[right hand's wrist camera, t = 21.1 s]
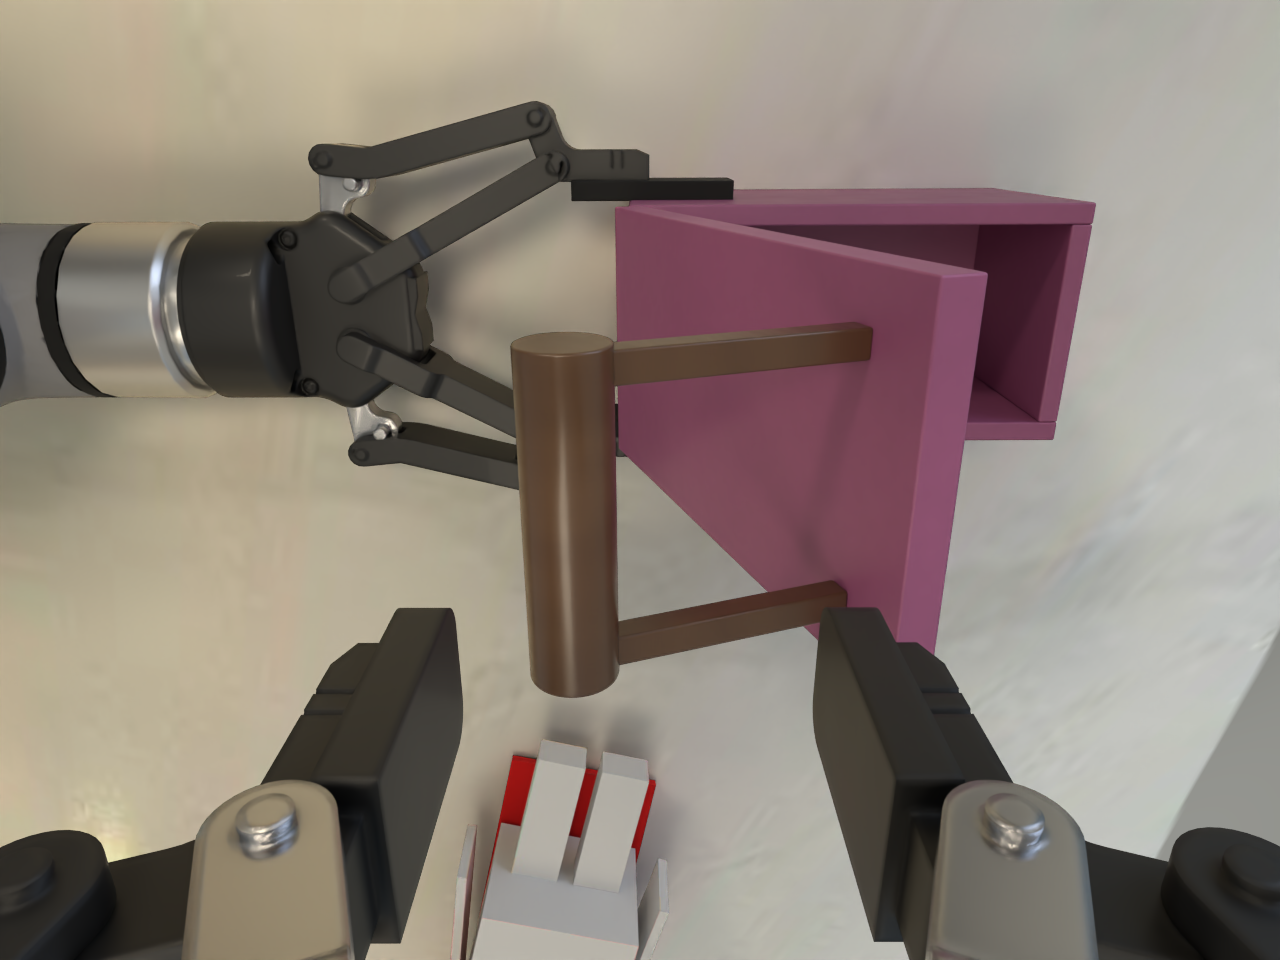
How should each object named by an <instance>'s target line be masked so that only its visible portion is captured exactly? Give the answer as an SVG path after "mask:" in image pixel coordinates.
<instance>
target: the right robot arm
mask: <svg viewBox="0 0 1280 960" xmlns="http://www.w3.org/2000/svg"><path fill="white" fill-rule="evenodd" d="M958 689H959V688H958V686H957V685H956V683H955V681H954V679H953V678H952V676H951V674H950V672H949V671H948V669H947V667H946V666H945V664H944V663H943V662H942V661H940V660H939V659H938V658H937V657H935V656H934V655H933V654H932V653H930V652H929V651H928V650H926V649H925V648H924V647H923V646H921V645H920V644H919V643H917V642H896V641H895V639H894V637H893V635H892V633H891V631H890V629H889V627H888V625H887V623H886V621H885V619H884V617H883V615H882V613H881V612H880V610H879V609H878V608H876V607H825V608H824V609H823V611H822V614H821V619H820V627H819V639H818V650H817V661H816V672H815V683H814V694H813V724H814V733H815V739H816V744H817V747H818V751H819V754H820V758H821V761H822V765H823V768H824V772H825V775H826V778H827V782H828V785H829V789H830V792H831V796H832V799H833V803H834V806H835V809H836V813H837V816H838V820H839V823H840V827H841V830H842V834H843V837H844V840H845V844H846V847H847V851H848V854H849V858H850V861H851V865H852V868H853V871H854V875H855V878H856V882H857V885H858V889H859V892H860V896H861V899H862V902H863V906H864V909H865V913H866V916H867V920H868V923H869V927H870V930H871V933H872V937H873V940H874V942H904V944H905V948H906V951H907V954H908V957H909V960H1280V846H1278V845H1276V844H1274V843H1271V842H1269V841H1267V840H1264V839H1262V838H1260V837H1257V836H1254V835H1251V834H1248V833H1244V832H1240V831H1236V830H1232V829H1225V828H1213V827H1207V828H1197V829H1194V830H1190V831H1188V832H1186V833H1184V834H1182V835H1181V836H1180V837H1179V838H1178V839H1177V840H1176V842H1175V844H1174V846H1173V849H1172V852H1171V855H1170V858H1169V862H1167V861H1162V860H1158V859H1154V858H1150V857H1145V856H1141V855H1137V854H1133V853H1129V852H1124V851H1120V850H1116V849H1112V848H1107V847H1104V846H1100V845H1096V844H1093V843H1090V842H1087V841H1085V840H1084V836H1083V834H1082V831H1081V829H1080V827H1079V826H1078V824H1077V823H1076V822H1075V820H1074V819H1073V818H1072V817H1071V816H1070V815H1069V814H1068V813H1067V812H1066V810H1064V809H1063V808H1062V807H1061V806H1059V805H1058V804H1057V803H1056V802H1054V801H1052V800H1051V799H1049V798H1048V797H1046V796H1044V795H1043V794H1041V793H1039V792H1037V791H1035V790H1032V789H1030V788H1027V787H1025V786H1022V785H1018V784H1015V783H1013V782H1012V780H1011V778H1010V776H1009V775H1008V773H1007V771H1006V769H1005V768H1004V766H1003V764H1002V763H1001V761H1000V759H999V757H998V756H997V754H996V752H995V750H994V749H993V747H992V745H991V743H990V742H989V740H988V738H987V737H986V735H985V733H984V731H983V730H982V728H981V726H980V724H979V723H978V721H977V719H976V717H975V716H974V714H971V712H970V707H969V705H968V704H967V702H966V700H965V698H964V697H963V695H962V693H959V690H958ZM462 723H463V696H462V686H461V675H460V664H459V653H458V642H457V631H456V622H455V616H454V613H453V610H452V609H451V608H398V609H397V610H396V612H395V613H394V615H393V617H392V619H391V621H390V623H389V625H388V627H387V629H386V631H385V632H384V634H383V636H382V638H381V640H380V642H379V643H358V644H356V645H355V646H354V647H353V648H351V649H350V650H349V651H347V652H346V653H345V654H344V655H342V656H341V657H340V658H338V659H337V660H336V661H335V662H333V663H332V664H331V665H330V667H329V668H328V670H327V672H326V673H325V675H324V677H323V679H322V680H321V682H320V684H319V685H318V687H317V689H316V694H313V696H312V697H311V699H310V701H309V702H308V704H307V706H306V708H305V709H304V715H301V716H300V718H299V720H298V721H297V723H296V725H295V726H294V728H293V730H292V732H291V733H290V735H289V737H288V738H287V740H286V742H285V743H284V745H283V747H282V749H281V750H280V752H279V754H278V755H277V757H276V759H275V761H274V762H273V764H272V766H271V767H270V769H269V771H268V772H267V774H266V776H265V778H264V779H263V781H262V783H261V784H260V785H258V786H255V787H253V788H250V789H248V790H245V791H243V792H241V793H239V794H237V795H236V796H234V797H232V798H231V799H229V800H228V801H226V802H224V803H223V804H222V805H221V806H219V807H218V808H217V809H216V810H214V812H213V813H212V814H211V815H210V816H209V817H208V818H207V819H206V820H205V822H204V823H203V824H202V826H201V827H200V829H199V831H198V834H197V836H196V840H193V841H190V842H188V843H185V844H182V845H179V846H176V847H172V848H169V849H165V850H160V851H156V852H152V853H148V854H143V855H139V856H135V857H131V858H126V859H122V860H118V861H114V862H110V863H108V861H107V858H106V854H105V851H104V849H103V846H102V844H101V843H100V842H99V841H98V839H97V838H95V837H94V836H92V835H90V834H88V833H84V832H81V831H73V830H57V831H50V832H44V833H39V834H35V835H31V836H28V837H25V838H22V839H19V840H16V841H14V842H12V843H9V844H7V845H5V846H3V847H1V848H0V960H365V958H366V955H367V952H368V949H369V946H370V943H401V940H402V936H403V933H404V930H405V926H406V923H407V920H408V916H409V913H410V909H411V906H412V903H413V899H414V896H415V893H416V889H417V886H418V882H419V879H420V876H421V872H422V869H423V866H424V862H425V859H426V856H427V852H428V849H429V845H430V842H431V839H432V835H433V832H434V829H435V825H436V822H437V818H438V815H439V812H440V808H441V805H442V802H443V798H444V795H445V792H446V788H447V785H448V781H449V778H450V775H451V771H452V768H453V765H454V761H455V758H456V754H457V751H458V748H459V744H460V739H461V733H462Z"/></svg>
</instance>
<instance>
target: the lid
mask: <svg viewBox="0 0 1280 960" xmlns="http://www.w3.org/2000/svg"><path fill="white" fill-rule="evenodd" d="M615 231H616V296H617V342H613V341H612V340H611V339H609V338H607V337H605V336H601V335H597V334H591V333H582V332H552V333H542V334H535V335H530V336H526V337H522V338H520V339H517V340H515V341H514V342H512V344H511V346H510V348H511V364H512V380H513V396H514V413H515V429H516V445H517V461H518V477H519V494H520V510H521V526H522V542H523V558H524V575H525V591H526V607H527V623H528V639H529V656H530V672H531V678H532V680H533V682H534V684H535V685H536V686H537V687H538V688H539V689H541V690H542V691H544V692H546V693H548V694H551V695H554V696H558V697H566V698H577V697H585V696H590V695H593V694H596V693H599V692H601V691H603V690H605V689H606V688H608V687H609V686H611V685H612V684H613V683H614V681H615V680H616V678H617V676H618V674H619V665H622V664H627V663H632V662H637V661H641V660H646V659H651V658H655V657H660V656H665V655H669V654H674V653H679V652H684V651H688V650H693V649H698V648H702V647H707V646H712V645H717V644H721V643H726V642H731V641H735V640H740V639H745V638H750V637H754V636H759V635H764V634H768V633H773V632H778V631H782V630H787V629H792V628H797V627H801V626H804V627H805V628H806V629H807V630H808V631H809V632H810V633H811V634H812V635H813V636H814V637H815V638H816V639H817V640H818V639H819V627H820V619H821V614H822V611H823V609H824V608H825V607H876V608H878V609H879V610H880V612H881V613H882V615H883V617H884V619H885V621H886V623H887V625H888V627H889V629H890V631H891V633H892V635H893V637H894V639H895V641H896V642H917V643H919V644H920V645H921V646H923V647H924V648H925V649H926V650H928V651H929V652H930V653H932V654H933V655H934V652H935V645H936V638H937V631H938V624H939V616H940V609H941V602H942V595H943V588H944V581H945V574H946V567H947V560H948V553H949V546H950V539H951V532H952V525H953V518H954V511H955V504H956V496H957V489H958V482H959V475H960V468H961V461H962V454H963V447H964V440H965V433H966V426H967V419H968V412H969V405H970V398H971V391H972V384H973V377H974V369H975V362H976V355H977V348H978V341H979V334H980V327H981V320H982V313H983V306H984V299H985V292H986V285H987V278H988V274H987V273H986V272H982V271H977V270H972V269H967V268H961V267H956V266H951V265H946V264H941V263H935V262H930V261H925V260H920V259H914V258H909V257H904V256H899V255H894V254H888V253H883V252H878V251H873V250H868V249H862V248H857V247H852V246H847V245H842V244H836V243H831V242H826V241H821V240H815V239H810V238H805V237H800V236H795V235H789V234H784V233H779V232H774V231H769V230H763V229H758V228H753V227H748V226H742V225H737V224H732V223H727V222H722V221H716V220H711V219H706V218H701V217H696V216H690V215H685V214H680V213H675V212H670V211H664V210H659V209H654V208H649V207H643V206H627V207H616V208H615ZM615 386H618V428H619V449H620V450H621V451H622V452H623V453H624V454H625V455H626V456H627V457H628V458H629V459H631V460H632V461H633V462H634V463H635V464H636V465H637V466H638V467H639V468H640V469H641V470H642V471H643V472H644V473H645V474H646V475H647V476H648V477H649V478H650V479H651V480H652V481H653V482H654V483H655V484H656V485H657V486H659V487H660V488H661V489H662V490H663V491H664V492H665V493H666V494H667V495H668V496H669V497H670V498H671V499H672V500H673V501H674V502H675V503H676V504H677V505H678V506H679V507H680V508H681V509H682V510H683V511H684V512H685V513H687V514H688V515H689V516H690V517H691V518H692V519H693V520H694V521H695V522H696V523H697V524H698V525H699V526H700V527H701V528H702V529H703V530H704V531H705V532H706V533H707V534H708V535H709V536H710V537H711V538H712V539H713V540H715V541H716V542H717V543H718V544H719V545H720V546H721V547H722V548H723V549H724V550H725V551H726V552H727V553H728V554H729V555H730V556H731V557H732V558H733V559H734V560H735V561H736V562H737V563H738V564H739V565H740V566H741V567H743V568H744V569H745V570H746V571H747V572H748V573H749V574H750V575H751V576H752V577H753V578H754V579H755V580H756V581H757V582H758V583H759V584H760V585H761V586H762V587H763V588H764V589H765V590H766V591H767V593H761V594H756V595H751V596H746V597H741V598H736V599H731V600H726V601H720V602H715V603H710V604H705V605H700V606H695V607H690V608H685V609H679V610H674V611H669V612H664V613H659V614H654V615H649V616H644V617H638V618H633V619H628V620H623V621H618V562H617V502H616V442H615Z"/></svg>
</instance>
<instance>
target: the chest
mask: <svg viewBox="0 0 1280 960" xmlns="http://www.w3.org/2000/svg"><path fill="white" fill-rule="evenodd" d="M629 206H643V207H649V208H654V209H659V210H664V211H670V212H675V213H680V214H685V215H690V216H696V217H701V218H706V219H711V220H716V221H722V222H727V223H732V224H737V225H742V226H748V227H753V228H758V229H763V230H769V231H774V232H779V233H784V234H789V235H795V236H800V237H805V238H810V239H815V240H821V241H826V242H831V243H836V244H842V245H847V246H852V247H857V248H862V249H868V250H873V251H878V252H883V253H888V254H894V255H899V256H904V257H909V258H914V259H920V260H925V261H930V262H935V263H941V264H946V265H951V266H956V267H961V268H967V269H972V270H977V271H982V272H986V273H987V274H988V278H987V285H986V292H985V299H984V306H983V313H982V320H981V327H980V334H979V341H978V348H977V355H976V362H975V369H974V377H973V384H972V391H971V398H970V405H969V412H968V419H967V426H966V433H965V440H1053V438H1054V433H1055V427H1056V422H1055V421H1056V420H1057V416H1058V410H1059V405H1060V399H1061V394H1062V388H1063V383H1064V377H1065V372H1066V366H1067V361H1068V355H1069V350H1070V344H1071V339H1072V333H1073V328H1074V322H1075V317H1076V311H1077V306H1078V300H1079V295H1080V289H1081V284H1082V278H1083V273H1084V267H1085V262H1086V256H1087V251H1088V245H1089V240H1090V234H1091V229H1092V225H1090V224H1092V223H1093V218H1094V213H1095V207H1096V203H1094V202H1087V201H1080V200H1073V199H1066V198H1059V197H1051V196H1044V195H1037V194H1030V193H1023V192H1016V191H1009V190H1002V189H995V188H940V189H756V190H733V200H631V201H630V203H629Z"/></svg>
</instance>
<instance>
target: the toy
mask: <svg viewBox="0 0 1280 960" xmlns="http://www.w3.org/2000/svg"><path fill="white" fill-rule="evenodd" d="M586 754H587V748H584V747H579V746H574V745H569V744H564V743H559V742H554V741H549V740H545V739H542V740H541V744H540V748H539V752H538V756H537V759H531V758H526V757H520V756H515V755H513V758H512V762H511V767H510V772H509V777H508V781H507V786H506V791H505V796H504V800H503V805H502V810H501V815H500V819H499V824H498V829H497V834H496V838H495V843H494V848H493V853H492V857H491V862H490V867H489V871H488V876H487V881H486V886H485V890H484V895H483V900H482V905H481V909H480V914H479V919H478V924H477V928H476V932H475V937H474V941H473V945H472V949H471V954H470V958H469V960H650V959H651V956H652V954H653V952H654V949H655V947H656V944H657V942H658V939H659V937H660V934H661V932H662V929H663V927H664V925H665V922H666V920H667V917H668V915H669V901H668V879H667V860H663V859H659V858H658V860H657V863H656V865H655V868H654V870H653V873H652V875H651V878H650V880H649V883H648V885H647V888H646V890H645V893H644V895H643V898H642V900H641V903H640V905H639V908H638V911H637V883H636V863H637V859H638V855H639V851H640V847H641V843H642V838H643V834H644V830H645V826H646V822H647V818H648V814H649V810H650V806H651V802H652V798H653V794H654V790H655V786H656V783H655V780H649V772H648V760H643V759H638V758H633V757H629V756H624V755H619V754H614V753H609V752H604V751H603V753H602V757H601V761H600V765H599V769H598V770H593V769H588V768H586ZM476 832H477V825H468V827H467V832H466V837H465V842H464V846H463V851H462V856H461V861H460V866H459V871H458V875H457V884H456V897H455V909H454V922H453V935H452V947H451V960H466V949H467V937H468V926H469V914H470V902H471V891H472V879H473V867H474V856H475V844H476Z"/></svg>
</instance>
